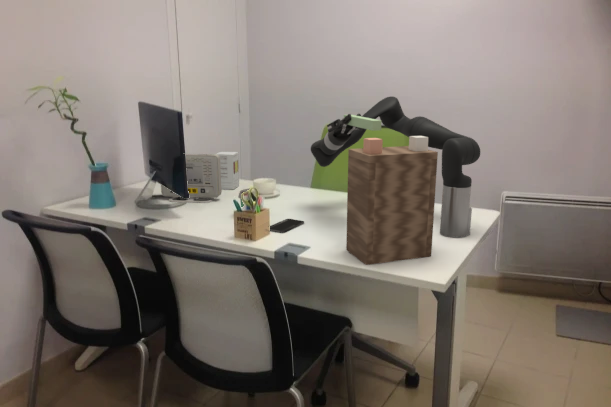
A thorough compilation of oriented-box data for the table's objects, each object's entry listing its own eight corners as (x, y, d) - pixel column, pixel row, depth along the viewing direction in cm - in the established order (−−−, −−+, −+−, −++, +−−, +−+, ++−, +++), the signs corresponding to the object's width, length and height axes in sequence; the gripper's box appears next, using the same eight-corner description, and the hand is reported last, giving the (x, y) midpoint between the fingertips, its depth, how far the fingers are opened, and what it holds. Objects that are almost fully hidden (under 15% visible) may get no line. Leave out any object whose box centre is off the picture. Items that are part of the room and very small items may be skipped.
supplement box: (233, 190, 250) (232, 154, 246) (215, 189, 252) (213, 154, 248) (239, 185, 260) (238, 151, 255) (221, 185, 261) (220, 151, 257)
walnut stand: (407, 242, 175) (412, 145, 167) (431, 256, 162) (437, 152, 154) (346, 250, 167) (348, 149, 160) (366, 265, 155) (369, 155, 147)
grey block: (420, 149, 160) (421, 135, 159) (427, 150, 156) (428, 137, 155) (408, 149, 159) (409, 136, 158) (415, 151, 155) (416, 137, 154)
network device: (223, 198, 234) (221, 153, 229) (217, 203, 226) (216, 156, 221) (166, 197, 236) (163, 152, 232) (159, 201, 228) (156, 155, 223)
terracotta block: (375, 151, 155) (376, 137, 154) (382, 153, 151) (382, 139, 150) (363, 152, 154) (363, 138, 153) (369, 154, 150) (370, 139, 149)
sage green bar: (351, 123, 185) (351, 114, 185) (381, 130, 165) (381, 120, 165) (343, 123, 184) (343, 114, 184) (372, 130, 164) (372, 120, 164)
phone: (264, 228, 188) (287, 218, 200) (264, 231, 188) (287, 221, 201) (283, 231, 184) (305, 221, 196) (283, 234, 184) (305, 224, 197)
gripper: (317, 127, 193) (333, 106, 177) (352, 126, 198) (371, 105, 182) (321, 147, 191) (338, 127, 175) (356, 145, 196) (376, 125, 180)
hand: (355, 116), depth 179 cm, fingers closed on sage green bar, 3 cm apart
